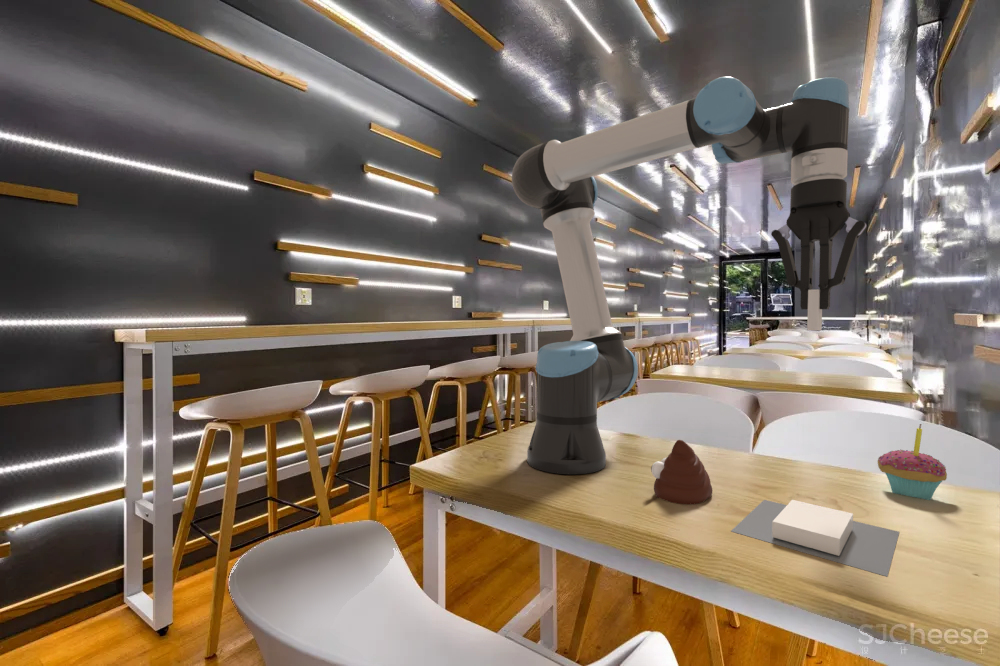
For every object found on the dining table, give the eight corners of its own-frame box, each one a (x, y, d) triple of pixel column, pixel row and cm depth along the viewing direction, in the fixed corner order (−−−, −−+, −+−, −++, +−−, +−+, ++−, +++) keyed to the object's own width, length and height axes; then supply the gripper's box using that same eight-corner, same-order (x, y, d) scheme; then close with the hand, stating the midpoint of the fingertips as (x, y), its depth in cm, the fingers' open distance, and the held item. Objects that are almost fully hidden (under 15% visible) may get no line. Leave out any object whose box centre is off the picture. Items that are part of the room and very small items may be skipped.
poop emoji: (695, 514, 70) (697, 450, 70) (641, 498, 76) (642, 439, 76) (721, 495, 78) (722, 437, 77) (669, 483, 84) (670, 429, 83)
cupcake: (960, 508, 73) (963, 428, 72) (895, 503, 74) (898, 425, 74) (923, 488, 81) (925, 416, 81) (865, 484, 83) (867, 414, 82)
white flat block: (791, 515, 68) (772, 538, 61) (792, 499, 68) (772, 521, 61) (852, 530, 64) (839, 557, 56) (853, 513, 64) (839, 538, 56)
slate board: (730, 535, 63) (730, 531, 63) (764, 503, 74) (764, 499, 74) (887, 581, 52) (887, 576, 52) (899, 536, 63) (899, 531, 63)
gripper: (766, 185, 79) (763, 329, 80) (865, 169, 70) (860, 331, 71) (778, 194, 85) (775, 329, 86) (872, 180, 76) (867, 330, 77)
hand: (814, 330), depth 78 cm, fingers closed
